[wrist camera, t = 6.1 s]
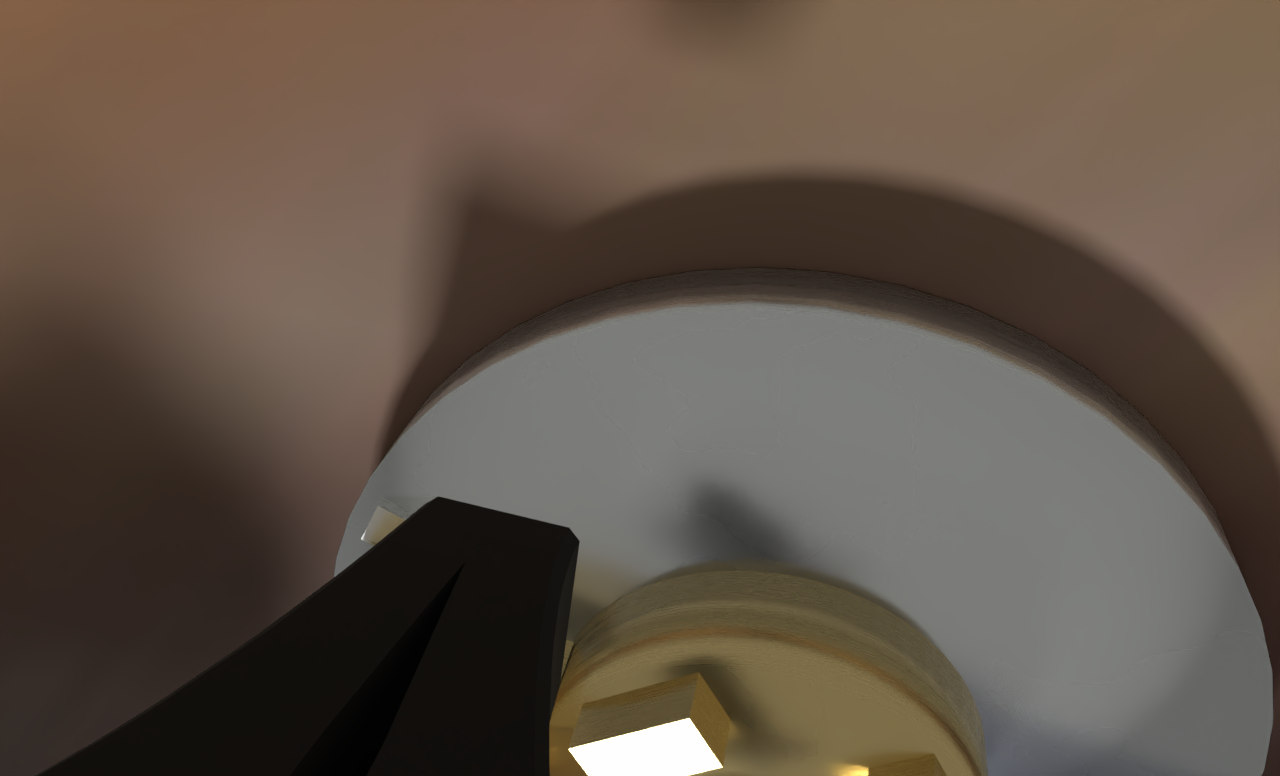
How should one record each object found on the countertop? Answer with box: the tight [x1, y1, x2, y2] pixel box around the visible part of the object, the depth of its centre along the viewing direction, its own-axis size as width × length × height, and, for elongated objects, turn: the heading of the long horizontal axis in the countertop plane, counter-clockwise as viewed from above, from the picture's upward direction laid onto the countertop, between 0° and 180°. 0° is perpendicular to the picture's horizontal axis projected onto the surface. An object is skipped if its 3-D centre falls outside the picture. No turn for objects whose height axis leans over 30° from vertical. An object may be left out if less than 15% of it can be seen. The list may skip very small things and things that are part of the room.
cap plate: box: [334, 268, 1273, 776], centre depth 15 cm, size 13×13×4 cm
